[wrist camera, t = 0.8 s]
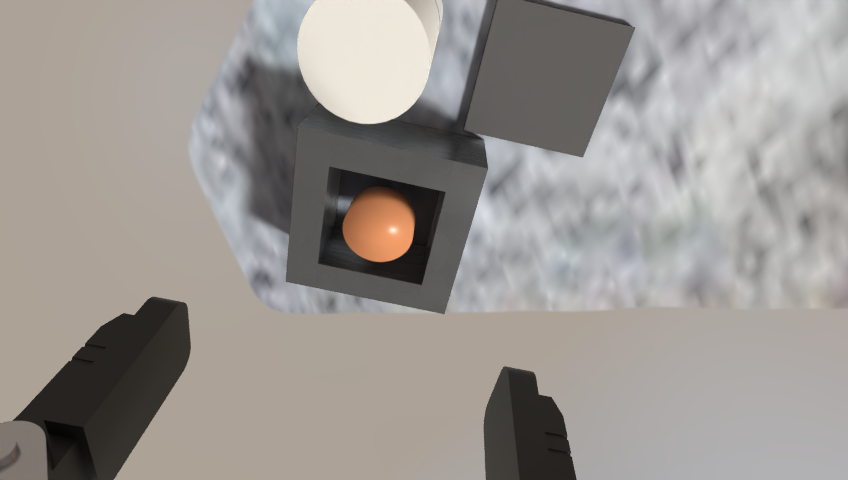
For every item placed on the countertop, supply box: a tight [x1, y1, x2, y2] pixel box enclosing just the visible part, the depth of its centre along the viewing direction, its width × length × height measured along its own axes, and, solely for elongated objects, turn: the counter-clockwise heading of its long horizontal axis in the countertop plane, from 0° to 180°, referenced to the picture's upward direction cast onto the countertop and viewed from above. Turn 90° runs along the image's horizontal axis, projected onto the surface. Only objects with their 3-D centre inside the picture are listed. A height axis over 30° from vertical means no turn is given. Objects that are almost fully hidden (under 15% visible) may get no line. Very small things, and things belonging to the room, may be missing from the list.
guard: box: [286, 103, 488, 314], centre depth 32 cm, size 11×11×5 cm
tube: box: [297, 0, 443, 124], centre depth 22 cm, size 4×4×15 cm
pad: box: [464, 0, 635, 157], centre depth 30 cm, size 8×8×1 cm
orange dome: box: [343, 186, 416, 262], centre depth 31 cm, size 4×4×2 cm
